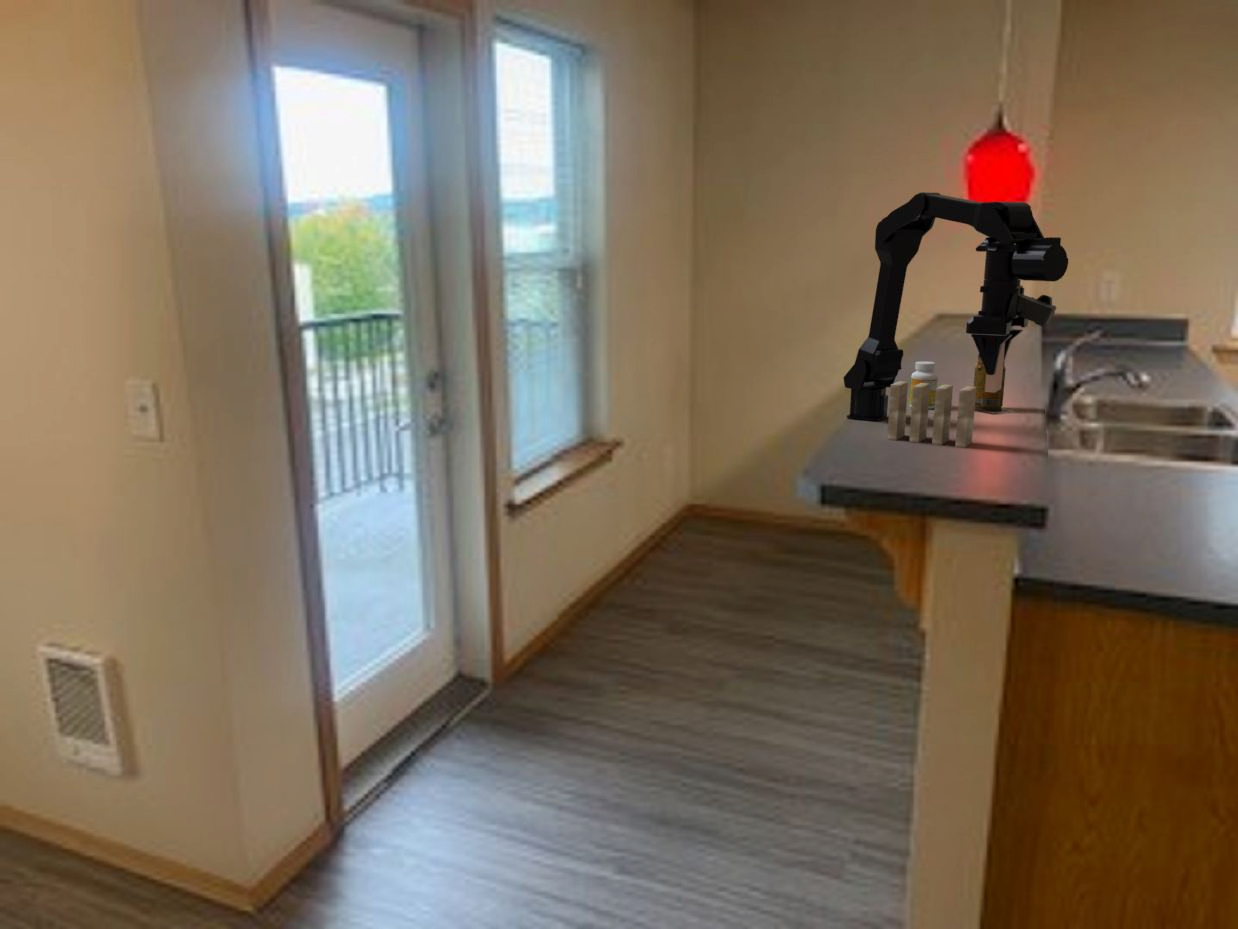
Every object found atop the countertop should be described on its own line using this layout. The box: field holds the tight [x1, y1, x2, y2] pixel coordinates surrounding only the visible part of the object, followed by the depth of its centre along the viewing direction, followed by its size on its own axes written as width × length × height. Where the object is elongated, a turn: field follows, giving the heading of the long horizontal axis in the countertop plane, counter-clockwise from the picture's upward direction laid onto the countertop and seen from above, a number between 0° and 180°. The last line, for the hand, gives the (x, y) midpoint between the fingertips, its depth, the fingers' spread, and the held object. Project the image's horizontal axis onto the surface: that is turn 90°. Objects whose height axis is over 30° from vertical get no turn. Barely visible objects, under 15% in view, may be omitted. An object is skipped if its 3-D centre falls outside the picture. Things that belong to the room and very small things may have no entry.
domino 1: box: [886, 380, 909, 441], centre depth 168 cm, size 2×5×10 cm, turn 146°
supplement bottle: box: [908, 360, 938, 410], centre depth 198 cm, size 5×5×10 cm
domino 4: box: [955, 385, 976, 449], centre depth 161 cm, size 2×5×10 cm, turn 146°
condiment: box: [972, 353, 1017, 414], centre depth 194 cm, size 7×8×12 cm
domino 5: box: [985, 342, 1005, 393], centre depth 157 cm, size 2×5×10 cm, turn 146°
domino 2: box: [908, 383, 930, 444], centre depth 165 cm, size 2×5×10 cm, turn 146°
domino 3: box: [931, 384, 954, 446], centre depth 163 cm, size 2×5×10 cm, turn 146°
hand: (994, 372), depth 157 cm, fingers closed on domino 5, 5 cm apart
